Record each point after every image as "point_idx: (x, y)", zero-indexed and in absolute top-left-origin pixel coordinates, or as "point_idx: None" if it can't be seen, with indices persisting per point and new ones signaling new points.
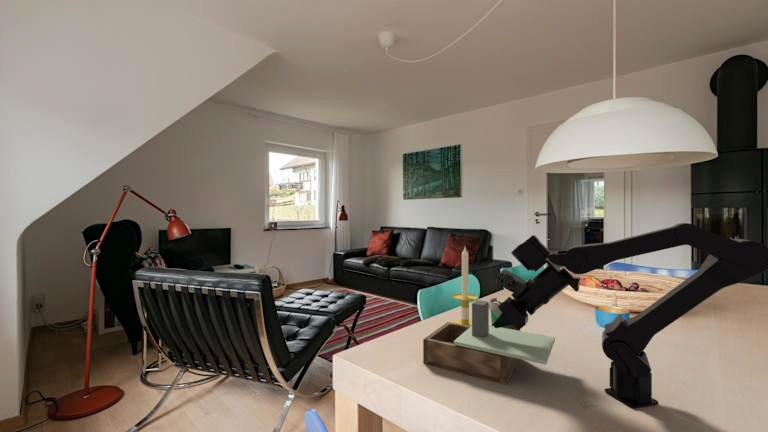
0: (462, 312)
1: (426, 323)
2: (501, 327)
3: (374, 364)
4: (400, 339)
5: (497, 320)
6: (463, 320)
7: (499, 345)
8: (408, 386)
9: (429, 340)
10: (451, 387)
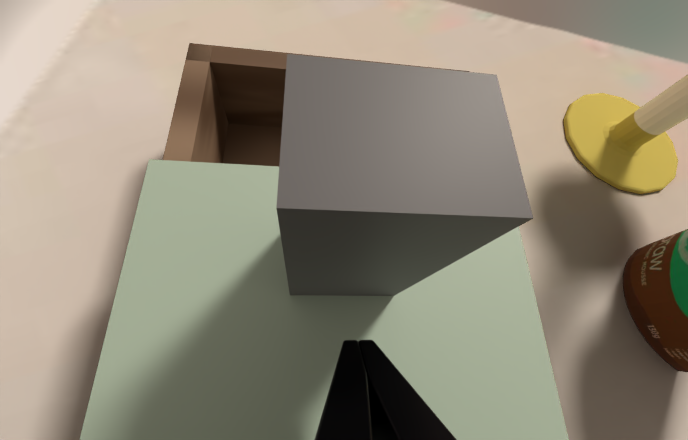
0: (663, 94)
1: (537, 34)
2: (672, 287)
3: (139, 10)
4: (359, 12)
5: (328, 402)
6: (629, 122)
7: (191, 437)
8: (13, 133)
9: (184, 66)
10: (53, 257)
